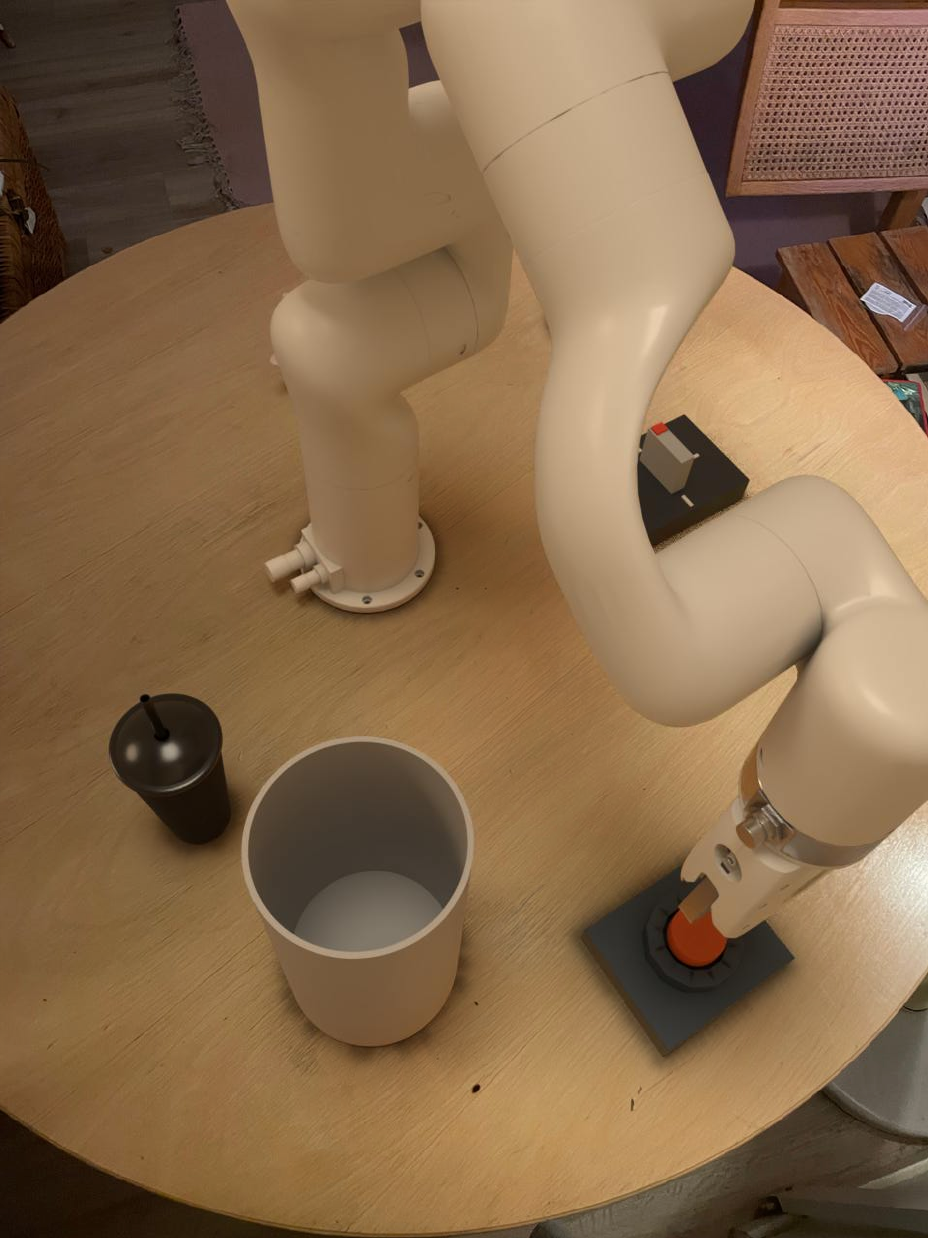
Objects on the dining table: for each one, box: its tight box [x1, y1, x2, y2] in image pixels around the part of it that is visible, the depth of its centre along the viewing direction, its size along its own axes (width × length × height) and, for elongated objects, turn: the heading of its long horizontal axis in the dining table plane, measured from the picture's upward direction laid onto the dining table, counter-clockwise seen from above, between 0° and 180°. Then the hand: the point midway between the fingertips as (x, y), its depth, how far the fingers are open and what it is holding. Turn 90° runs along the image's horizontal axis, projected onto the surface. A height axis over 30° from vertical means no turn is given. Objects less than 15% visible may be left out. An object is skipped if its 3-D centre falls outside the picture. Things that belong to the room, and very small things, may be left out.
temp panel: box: [637, 413, 751, 548], centre depth 101 cm, size 14×10×3 cm
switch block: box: [580, 863, 796, 1057], centre depth 77 cm, size 12×10×4 cm
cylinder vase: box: [240, 735, 475, 1047], centre depth 67 cm, size 12×12×25 cm
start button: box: [667, 910, 727, 967], centre depth 75 cm, size 4×4×2 cm
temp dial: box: [640, 421, 694, 494], centre depth 97 cm, size 5×2×5 cm, turn 33°
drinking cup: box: [108, 692, 232, 845], centre depth 74 cm, size 8×8×20 cm
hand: (727, 899), depth 67 cm, fingers closed
